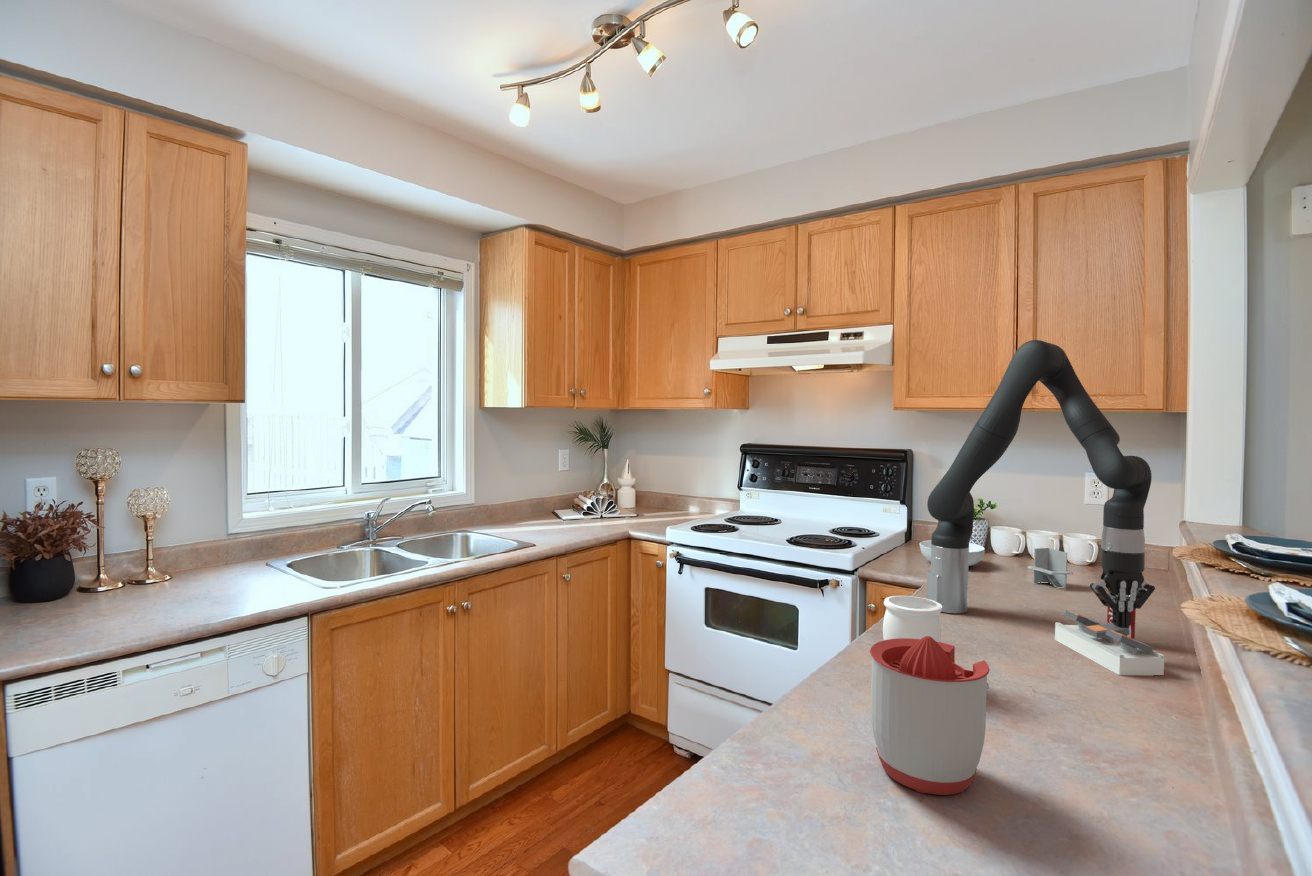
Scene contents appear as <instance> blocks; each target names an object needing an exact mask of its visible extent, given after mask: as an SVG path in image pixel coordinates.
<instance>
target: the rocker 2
mask: <svg viewBox="0 0 1312 876" xmlns="http://www.w3.org/2000/svg"><path fill="white" fill-rule="evenodd" d="M1105 635H1107V636H1109V637H1111V638H1114V639H1116V640H1118V641H1120V642H1123V643H1125V644H1128V645H1130V646H1133V647H1136V648H1138V649H1141V650H1144V651H1146V652H1149V653H1152V651H1153V650H1154V647H1153V646H1150V645H1148V644H1147V643H1144V642H1142V641H1139V640H1137V639H1132V638H1130V637H1127V636H1125V635H1123V634H1120V633H1118V632H1115V631H1113V630H1108V629H1107V632H1106V634H1105Z"/></svg>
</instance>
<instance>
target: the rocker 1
mask: <svg viewBox="0 0 1312 876" xmlns="http://www.w3.org/2000/svg"><path fill="white" fill-rule="evenodd" d="M1064 616H1066V617H1067V618H1070V619H1072V620H1074V621H1076V622H1081V623H1084V624H1087V625H1089V626H1092V625H1100V624H1101V622H1098V621H1095V620H1093V619H1091V618H1088V617H1086V616H1084V615H1083V614H1080V613H1076V612H1074V611H1071V610H1067V609H1066V610H1065V612H1064Z"/></svg>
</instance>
